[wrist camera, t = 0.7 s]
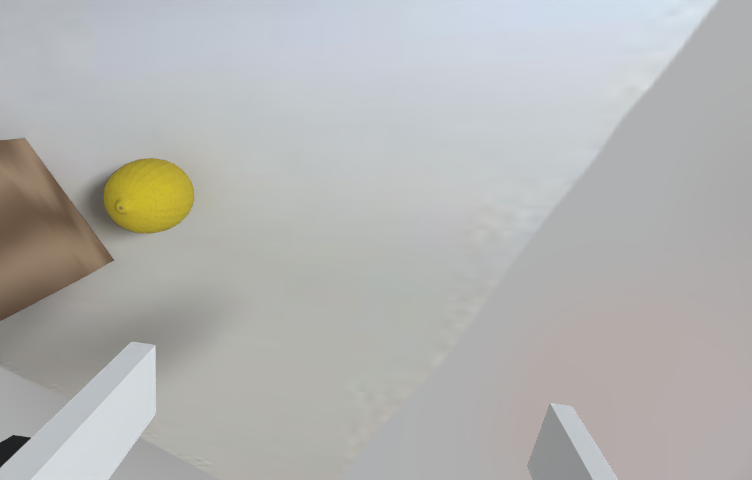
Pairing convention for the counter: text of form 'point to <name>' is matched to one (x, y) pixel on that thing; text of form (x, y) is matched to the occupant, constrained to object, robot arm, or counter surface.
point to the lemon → (148, 196)
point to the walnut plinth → (39, 232)
